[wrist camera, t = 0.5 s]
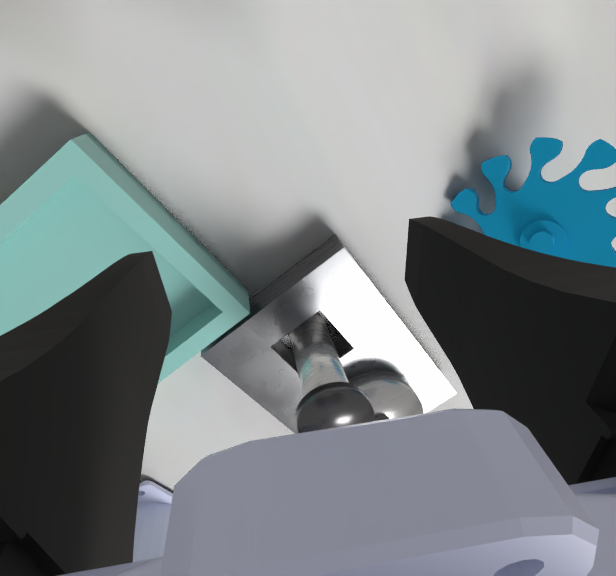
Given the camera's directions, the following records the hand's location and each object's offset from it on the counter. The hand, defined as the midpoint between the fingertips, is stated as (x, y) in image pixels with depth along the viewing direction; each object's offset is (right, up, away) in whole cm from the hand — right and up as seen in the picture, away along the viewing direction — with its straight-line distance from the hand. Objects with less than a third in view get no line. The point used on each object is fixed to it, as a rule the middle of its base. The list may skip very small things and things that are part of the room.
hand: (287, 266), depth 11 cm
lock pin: (+1, -3, +14) cm, 14 cm away
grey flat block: (+2, -5, +15) cm, 16 cm away
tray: (-12, -1, +10) cm, 16 cm away
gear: (+12, +3, +13) cm, 18 cm away
